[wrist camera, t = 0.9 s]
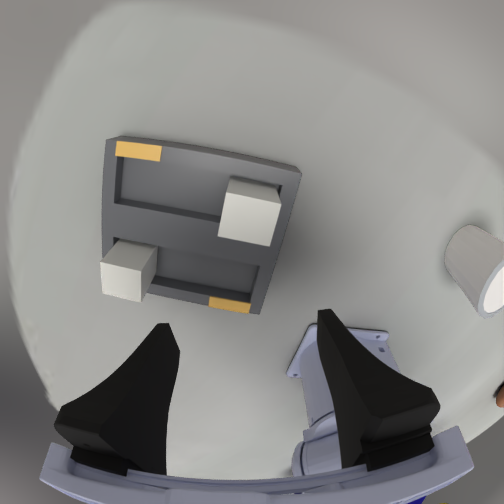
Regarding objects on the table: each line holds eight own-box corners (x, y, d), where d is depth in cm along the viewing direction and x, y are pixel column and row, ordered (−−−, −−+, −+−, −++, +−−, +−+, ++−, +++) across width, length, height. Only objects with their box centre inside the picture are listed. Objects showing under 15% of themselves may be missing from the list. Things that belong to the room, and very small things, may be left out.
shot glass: (429, 272, 24) (466, 317, 17) (458, 210, 20) (506, 244, 14) (466, 282, 24) (500, 321, 18) (493, 229, 21) (534, 261, 15)
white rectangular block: (275, 185, 18) (281, 204, 15) (265, 220, 20) (269, 246, 16) (230, 176, 18) (226, 192, 15) (223, 211, 19) (217, 236, 16)
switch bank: (295, 166, 19) (302, 174, 17) (258, 296, 24) (259, 315, 22) (120, 135, 18) (105, 140, 15) (114, 267, 23) (103, 283, 21)
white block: (158, 243, 20) (141, 271, 17) (156, 272, 22) (141, 302, 18) (122, 235, 20) (100, 261, 16) (122, 264, 21) (102, 293, 18)
